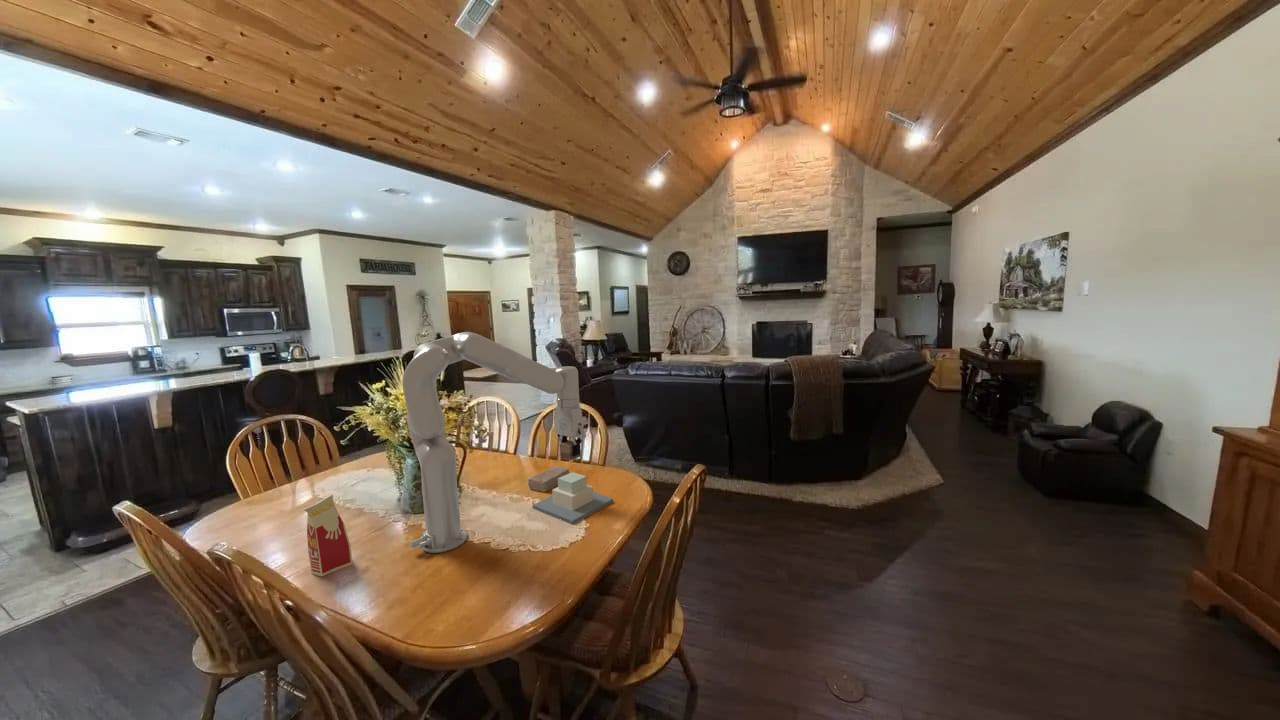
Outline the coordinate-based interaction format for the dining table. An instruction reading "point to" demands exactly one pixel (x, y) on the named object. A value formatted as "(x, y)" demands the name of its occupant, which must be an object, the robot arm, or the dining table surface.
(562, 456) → the walnut cube
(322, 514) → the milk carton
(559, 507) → the foundation
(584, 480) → the green block
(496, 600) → the dining table surface
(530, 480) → the brick
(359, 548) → the dining table surface
